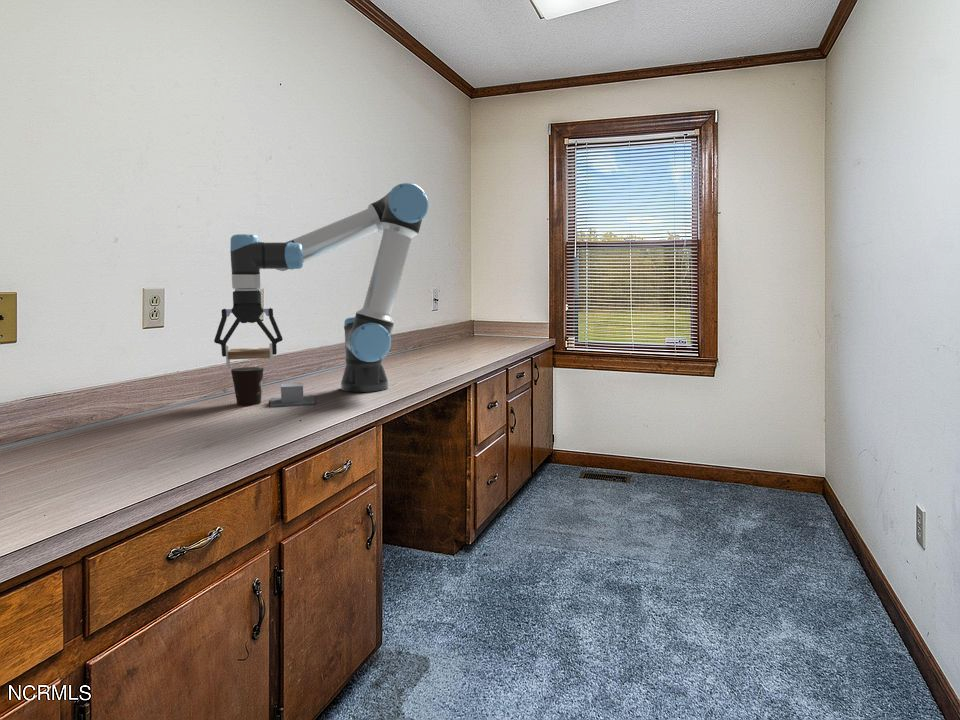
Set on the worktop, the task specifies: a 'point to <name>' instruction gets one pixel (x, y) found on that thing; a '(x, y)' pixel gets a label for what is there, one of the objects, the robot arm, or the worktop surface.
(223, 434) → the worktop surface
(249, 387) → the coffee mug
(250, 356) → the lid
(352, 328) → the robot arm
